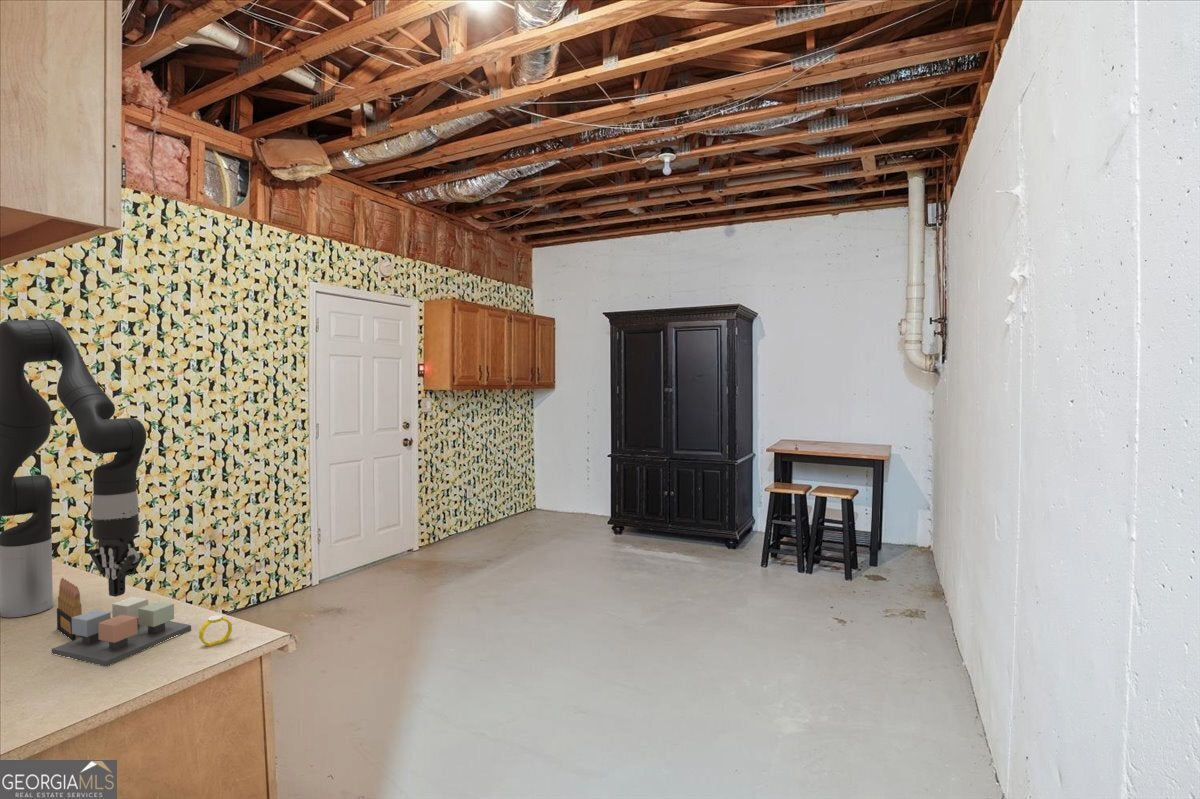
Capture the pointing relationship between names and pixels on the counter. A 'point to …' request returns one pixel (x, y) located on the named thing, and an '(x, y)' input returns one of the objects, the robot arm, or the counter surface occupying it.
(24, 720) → the counter surface
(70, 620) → the ammunition clip
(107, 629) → the terracotta key
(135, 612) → the cream key
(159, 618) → the sage key
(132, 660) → the counter surface
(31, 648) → the counter surface
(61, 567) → the counter surface
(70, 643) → the keypad board
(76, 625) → the slate key
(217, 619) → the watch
